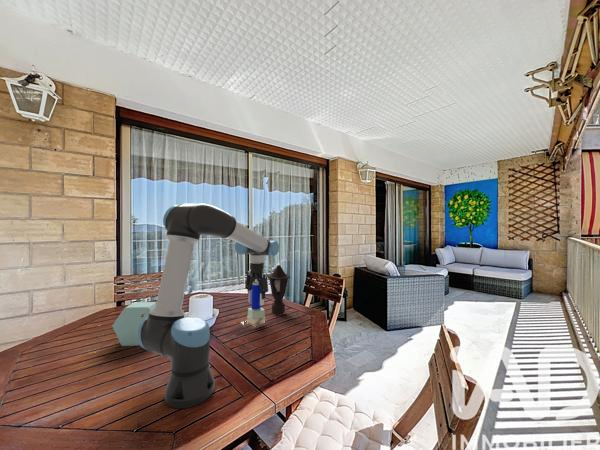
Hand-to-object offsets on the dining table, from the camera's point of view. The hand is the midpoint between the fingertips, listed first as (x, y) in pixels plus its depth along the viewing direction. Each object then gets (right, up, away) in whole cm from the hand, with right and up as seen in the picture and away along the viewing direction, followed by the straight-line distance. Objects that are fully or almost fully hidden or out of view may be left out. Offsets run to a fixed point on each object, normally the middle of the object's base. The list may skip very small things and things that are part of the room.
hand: (256, 303), depth 142 cm
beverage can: (0, -3, 0) cm, 3 cm away
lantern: (+11, -12, +17) cm, 24 cm away
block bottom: (0, -11, 0) cm, 11 cm away
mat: (0, -12, 0) cm, 12 cm away
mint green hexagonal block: (-51, -11, -22) cm, 57 cm away
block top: (0, -7, 0) cm, 7 cm away
